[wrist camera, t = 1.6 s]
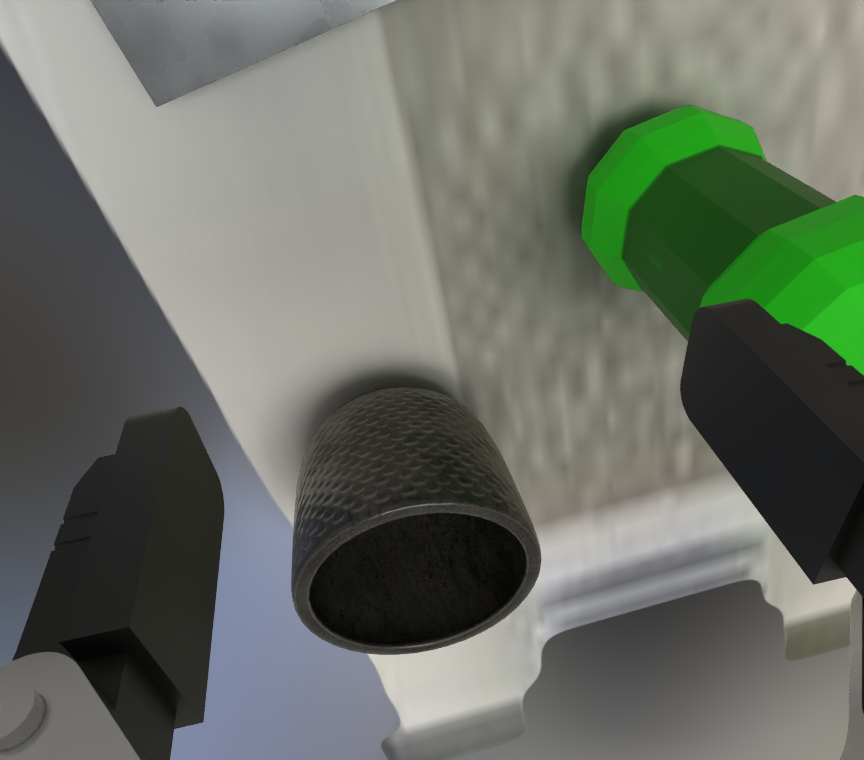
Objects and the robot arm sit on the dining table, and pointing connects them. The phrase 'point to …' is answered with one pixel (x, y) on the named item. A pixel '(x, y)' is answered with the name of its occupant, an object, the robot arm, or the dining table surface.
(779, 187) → the plastic bottle
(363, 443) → the planter
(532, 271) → the dining table surface
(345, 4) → the panel
